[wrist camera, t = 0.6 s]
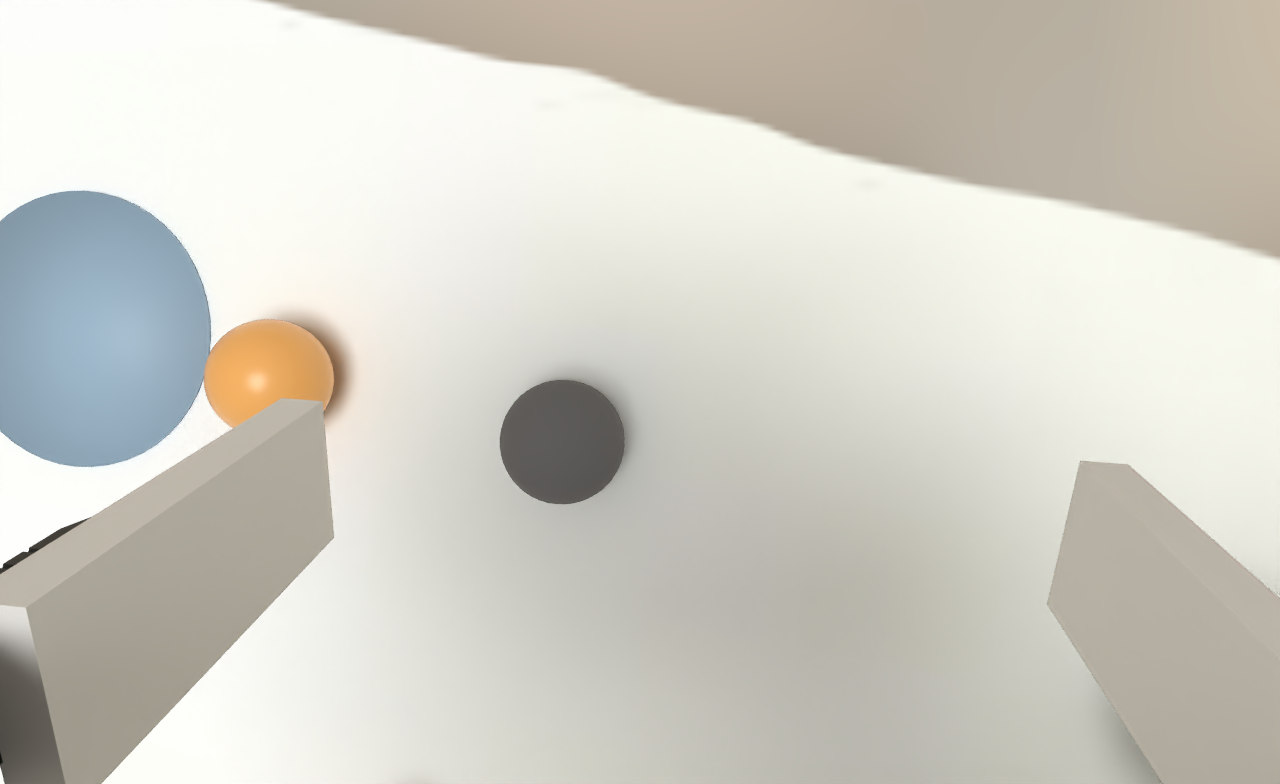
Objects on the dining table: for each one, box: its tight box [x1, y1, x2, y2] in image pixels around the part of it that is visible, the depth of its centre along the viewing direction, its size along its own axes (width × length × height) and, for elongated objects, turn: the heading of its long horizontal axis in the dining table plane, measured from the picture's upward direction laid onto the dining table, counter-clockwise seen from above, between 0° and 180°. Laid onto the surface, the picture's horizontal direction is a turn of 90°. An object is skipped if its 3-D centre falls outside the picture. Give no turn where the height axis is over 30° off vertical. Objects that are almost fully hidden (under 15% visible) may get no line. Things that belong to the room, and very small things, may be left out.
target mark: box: [0, 191, 210, 467], centre depth 42 cm, size 14×14×1 cm
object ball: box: [204, 319, 334, 428], centre depth 38 cm, size 6×6×6 cm
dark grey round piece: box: [500, 380, 624, 504], centre depth 37 cm, size 6×6×6 cm
